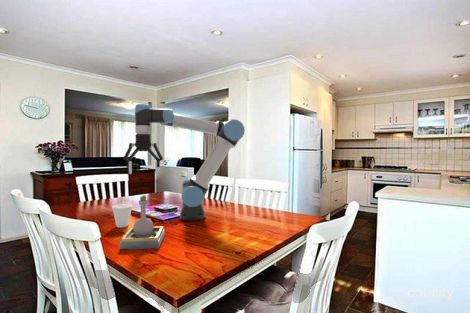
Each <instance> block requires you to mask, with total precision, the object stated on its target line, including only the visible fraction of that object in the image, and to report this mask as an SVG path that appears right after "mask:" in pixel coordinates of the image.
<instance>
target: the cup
mask: <svg viewBox="0 0 470 313" xmlns="http://www.w3.org/2000/svg"><path fill="white" fill-rule="evenodd" d="M132 206H133V204H130V203H129V204H128V203H121V204H115V205H113V206H112V207H111V209H112V211H113V217H114V220H115V221H114V222H115V226H116V227H117V228H120V229H121V228H125V227H128V226H129V224H130V217H131V211H132Z"/></svg>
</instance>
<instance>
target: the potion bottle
mask: <svg viewBox="0 0 470 313" xmlns="http://www.w3.org/2000/svg"><path fill="white" fill-rule="evenodd" d="M138 204H139V206H140V218H138V219H137V220H135V222H134V224H133V227H132V228H133V231H134V234H136V237H137V238H138V237H149V236H151V233H152V232H153V228H154V227H155V226H154V224H153V221H152V219H151V218H147V215H146V214H147V213H146V210H147V208H146V206H147V205H148V200H147V196H146V195H145V194H143V195H141V196H140V197H139V200H138Z"/></svg>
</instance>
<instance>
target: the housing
mask: <svg viewBox="0 0 470 313" xmlns="http://www.w3.org/2000/svg"><path fill="white" fill-rule="evenodd" d="M153 227H154V228H153V232H152V233H151V236H149V237H138V238H137V237H136V234H134V231H133V227H130V229H129V230H128V231H127V232H126V233H125V234H124V235H123V236H122V237H121V239H120V240H121V241H120V242H119V250H120V249H129V250H146V249H147V250H151V248H153V249H160V247H161V244H162V242H163V240H164V237H165V236H166V235H165V232H166V231H165V228H164V226H153Z"/></svg>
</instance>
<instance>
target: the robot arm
mask: <svg viewBox="0 0 470 313" xmlns="http://www.w3.org/2000/svg"><path fill="white" fill-rule="evenodd" d="M134 106H135V110H134V119H135V120H134V121H135V122H134V123H135V124H134V125H135V131H134V134H135V135H134V137H135V143H133V142H129V143H128V148H127V150H126V152H125V154H124V157H123V158H122V160H123V161H125V162H126V168H128V175H132V173H133V166H132V165H133V162H132V159H133V158H134V157H135V156H136V155H137V153H138V152H148V153H149V154H150V155H151V156H152V157H153V158H154V160H156V161H155V162H154V164H155V167H154V168H155V174H156V175H158V173H159V168H160V166H161V163H160V162H161V161H162V160H164V158H163V155H162V154H161V152H160V150H159V147H158V143H156V142H154V143H152V142H151V124H161V125H163V126H169V127H173V128H178V129H179V128H180V129H184V130H189V131H194V132H200V133H205V134H209V135H214V137H216V138H217V141H216V142H215V143H214V146H213V147H212V149H211V150H210V152H209V154H207V156H206V159H205V160H204V161H203V163H202V165H201V166H200V168H199V170H198V171H197V172H196V174H195V176H193V177H190V179H184V180H183V181H182V184H181V185H182V191H181V200H182V205H181V208H180V209H181V210H180V211H179V212H180V213H179V219H180V220H183V221H189V222H190V221H199V220H203V219H205V217H206V212H205V209H204V206H203V201H204V199H205V195H206V194H207V192H208V191H209V184H210V182H211V180H212V179H213V178H214V176H215V174H216V173H217V172H218V170H219V168H220V166H221V165H222V163H223V161H224V160H225V158H226V157H227V156H228V153H229V152H230V151H231V149H232V148H235V147H236V146H237V144H238V143H239V141H241V139H242V138H243V137H244V135H245V132H246V131H245V126H244V124H243V122H241V121H240V120H239V119H234V118H233V119H228V120H226V121H220V120H217V121H212V120H211V121H210V120H207V119H202V118H197V117H192V116H187V115H183V114H179V113H174V111H173V109H172V108H171V109H170V108H151V106H150V104H146V103H138V104H135V105H134ZM134 147H135V149H134V151H133V152H132V149H133V148H134ZM151 147H153V149H154V151H155V152H156V154H155V152H153V150H152V149H151ZM131 152H132V153H131Z"/></svg>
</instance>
